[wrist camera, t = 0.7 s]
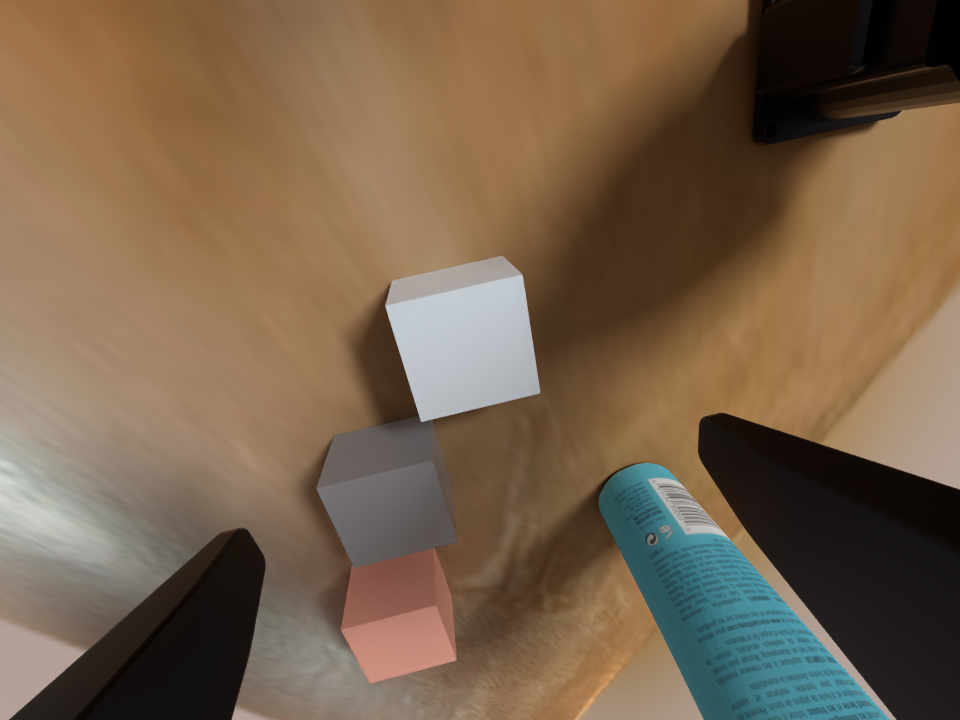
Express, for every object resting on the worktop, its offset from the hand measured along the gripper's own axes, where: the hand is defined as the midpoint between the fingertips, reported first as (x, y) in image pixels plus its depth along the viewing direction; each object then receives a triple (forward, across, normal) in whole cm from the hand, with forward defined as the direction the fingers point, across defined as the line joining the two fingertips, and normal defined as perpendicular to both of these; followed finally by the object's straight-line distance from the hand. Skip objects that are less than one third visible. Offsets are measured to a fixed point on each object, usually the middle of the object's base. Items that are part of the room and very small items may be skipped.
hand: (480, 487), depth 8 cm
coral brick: (+12, +7, +17) cm, 22 cm away
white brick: (+12, 0, +1) cm, 12 cm away
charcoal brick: (+12, +5, +8) cm, 15 cm away
